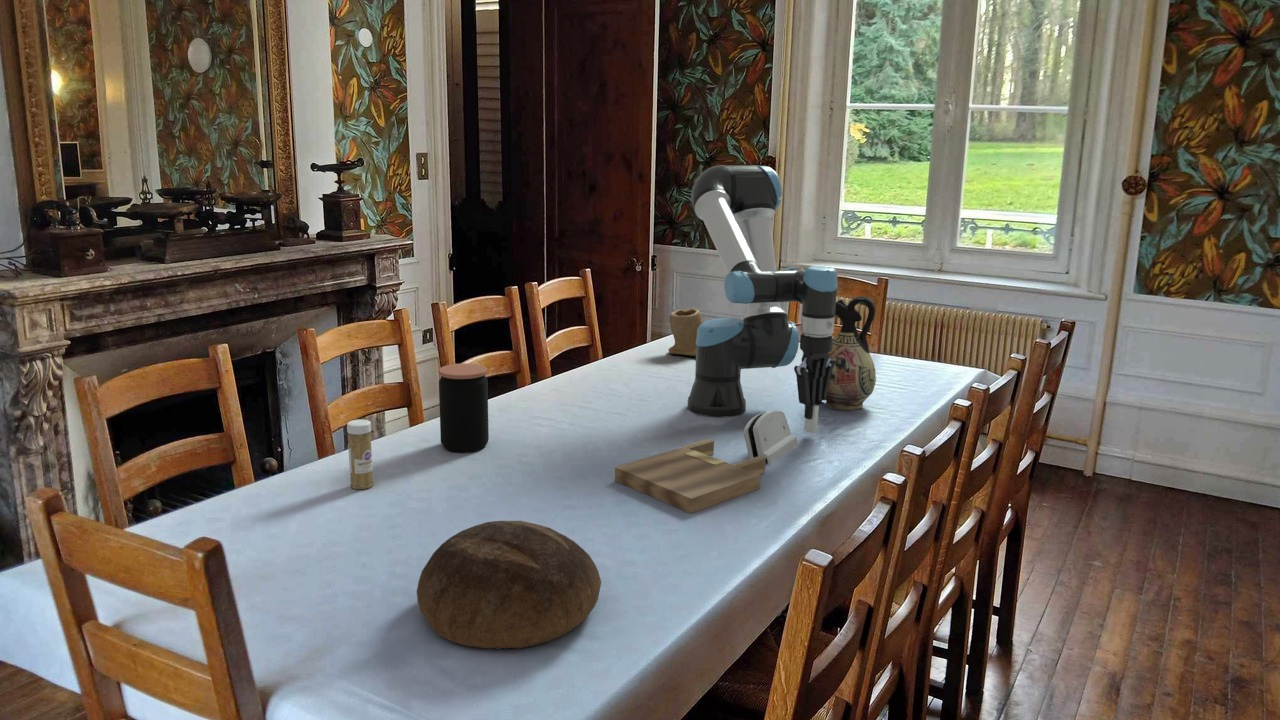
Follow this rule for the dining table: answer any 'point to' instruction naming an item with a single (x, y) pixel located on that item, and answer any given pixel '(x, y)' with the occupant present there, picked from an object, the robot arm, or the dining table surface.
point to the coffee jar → (463, 407)
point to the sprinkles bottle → (360, 454)
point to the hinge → (769, 436)
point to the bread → (507, 585)
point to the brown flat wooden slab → (691, 476)
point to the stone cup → (685, 331)
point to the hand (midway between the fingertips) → (810, 430)
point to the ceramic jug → (851, 358)
